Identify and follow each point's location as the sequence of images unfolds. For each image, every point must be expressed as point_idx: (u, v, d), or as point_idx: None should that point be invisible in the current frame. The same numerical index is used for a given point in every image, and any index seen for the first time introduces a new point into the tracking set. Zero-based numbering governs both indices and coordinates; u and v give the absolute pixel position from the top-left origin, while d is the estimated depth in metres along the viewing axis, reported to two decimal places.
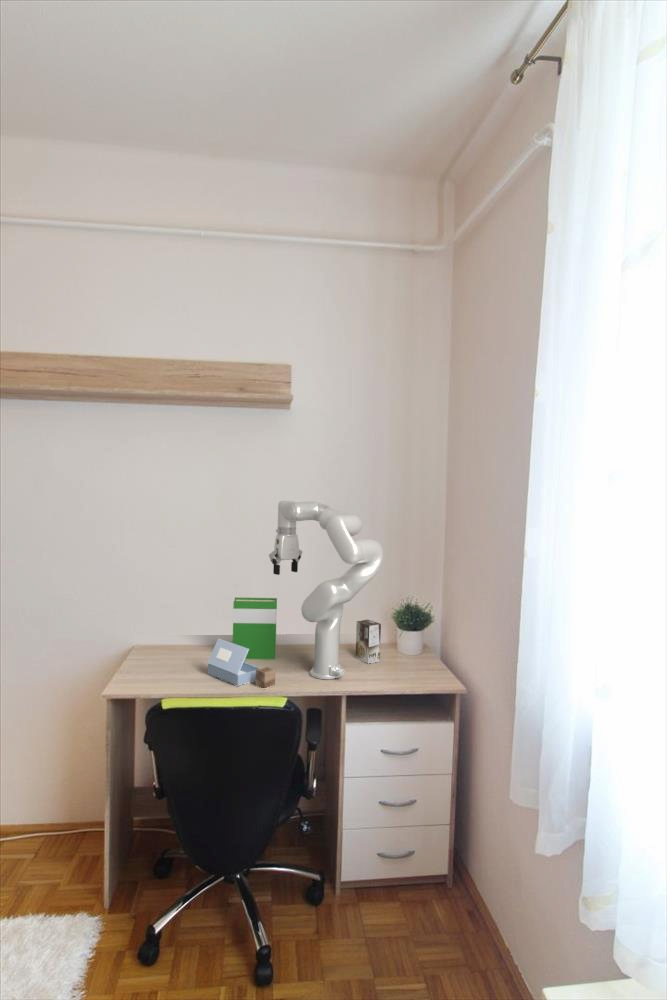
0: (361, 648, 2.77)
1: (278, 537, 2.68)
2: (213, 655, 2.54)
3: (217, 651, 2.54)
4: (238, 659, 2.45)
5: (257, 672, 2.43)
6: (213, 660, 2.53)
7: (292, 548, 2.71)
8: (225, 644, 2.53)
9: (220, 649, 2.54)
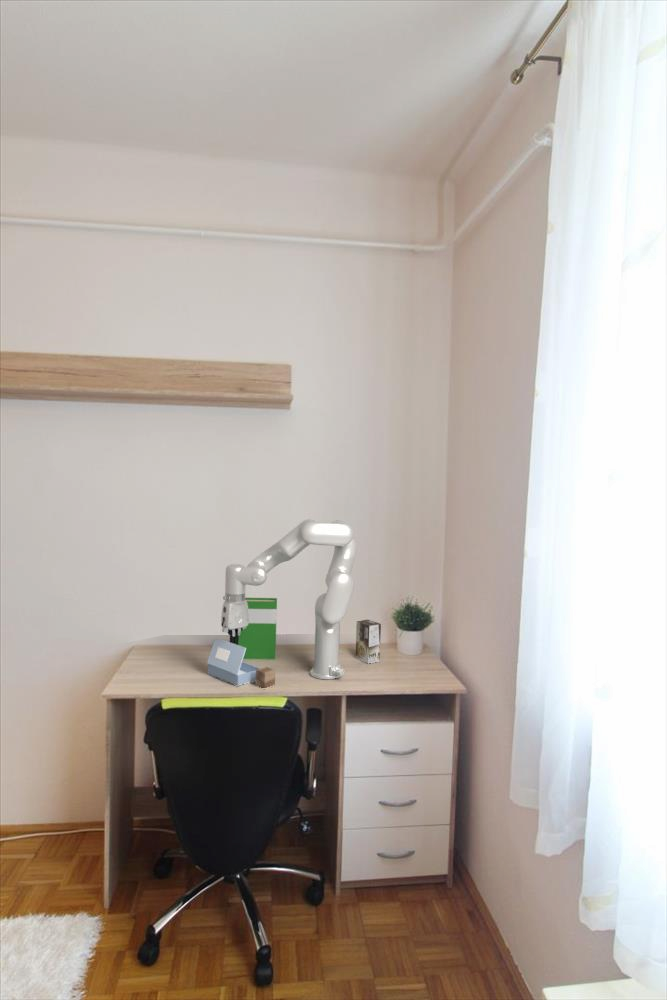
0: (361, 648, 2.77)
1: (225, 605, 2.47)
2: (212, 655, 2.54)
3: (216, 650, 2.54)
4: (237, 658, 2.45)
5: (257, 672, 2.43)
6: (212, 660, 2.53)
7: (241, 616, 2.50)
8: (223, 643, 2.52)
9: (218, 648, 2.53)
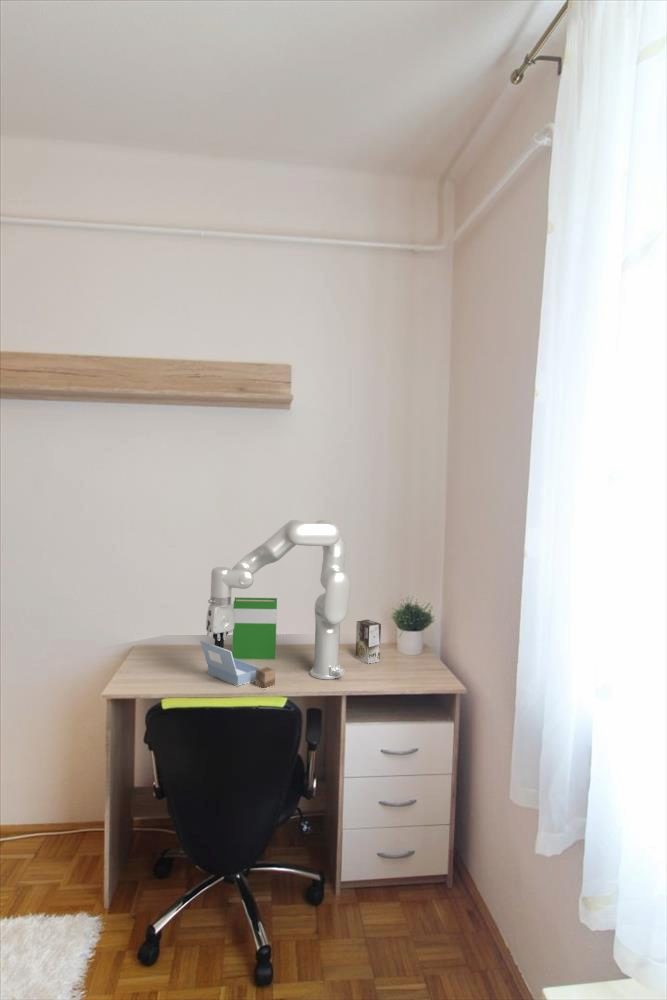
0: (361, 648, 2.77)
1: (210, 608, 2.43)
2: (207, 657, 2.52)
3: (207, 653, 2.51)
4: (229, 661, 2.42)
5: (257, 672, 2.43)
6: (210, 661, 2.52)
7: (226, 620, 2.45)
8: (209, 647, 2.48)
9: (208, 651, 2.50)
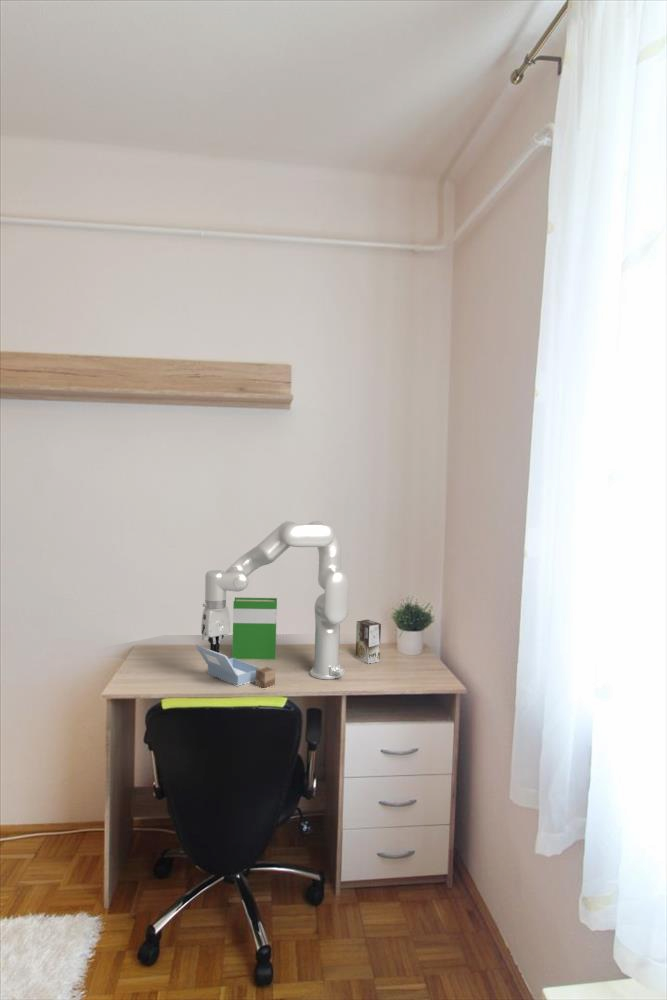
0: (361, 648, 2.77)
1: (205, 612, 2.41)
2: (205, 659, 2.52)
3: (205, 655, 2.50)
4: (226, 664, 2.41)
5: (257, 672, 2.43)
6: (209, 662, 2.52)
7: (221, 623, 2.43)
8: (205, 651, 2.47)
9: (205, 654, 2.49)
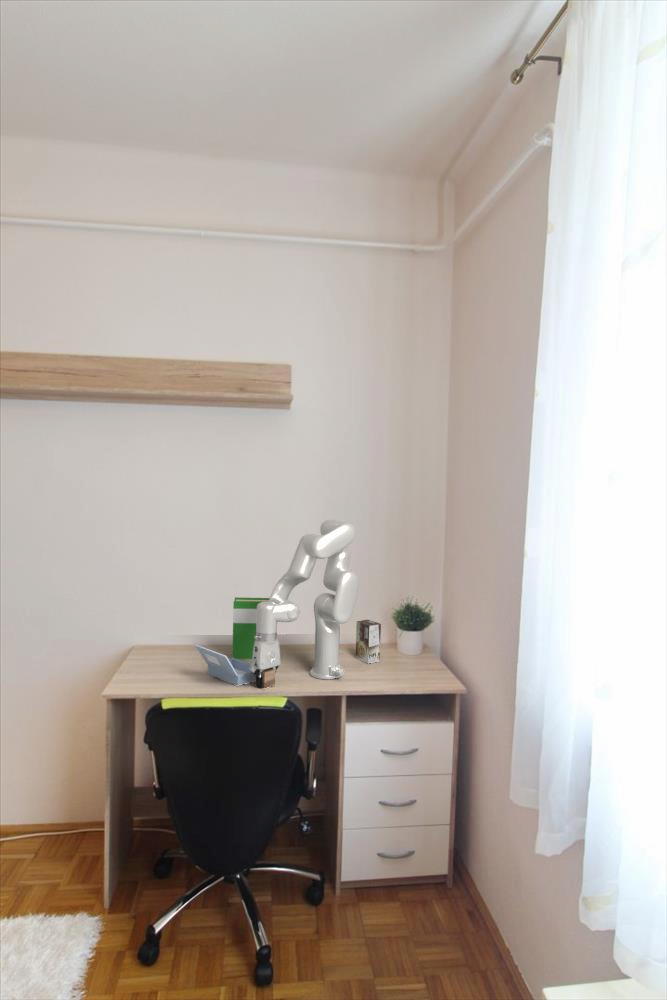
0: (361, 648, 2.77)
1: (257, 644, 2.40)
2: (205, 659, 2.52)
3: (205, 655, 2.50)
4: (226, 664, 2.41)
5: None
6: (209, 662, 2.52)
7: (272, 655, 2.42)
8: (205, 651, 2.47)
9: (205, 654, 2.49)
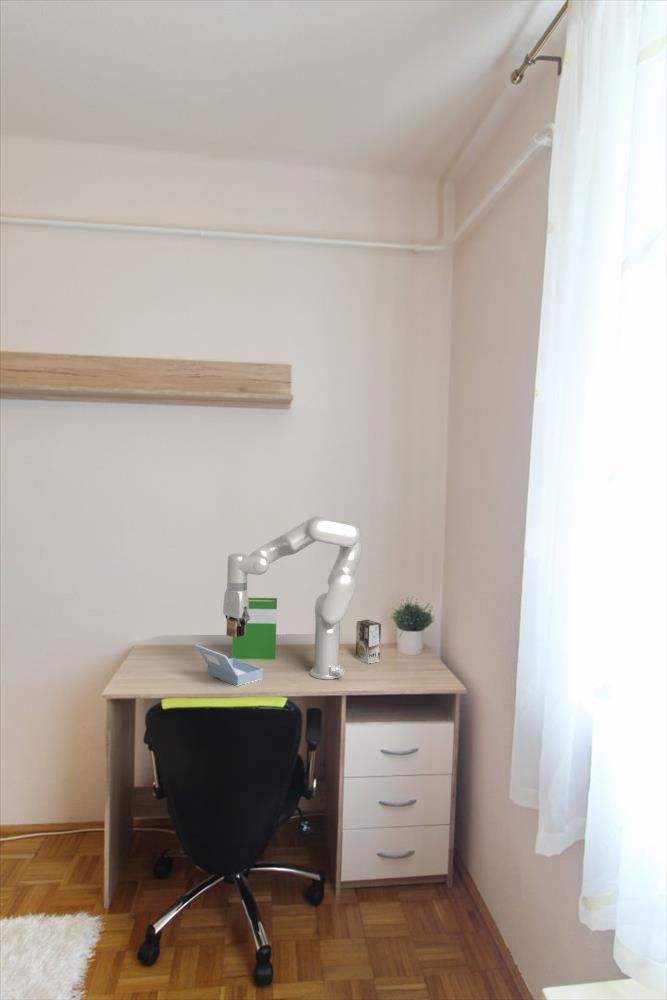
0: (361, 648, 2.77)
1: None
2: (205, 659, 2.52)
3: (205, 655, 2.50)
4: (226, 664, 2.41)
5: None
6: (209, 662, 2.52)
7: (232, 605, 2.49)
8: (205, 651, 2.47)
9: (205, 654, 2.49)
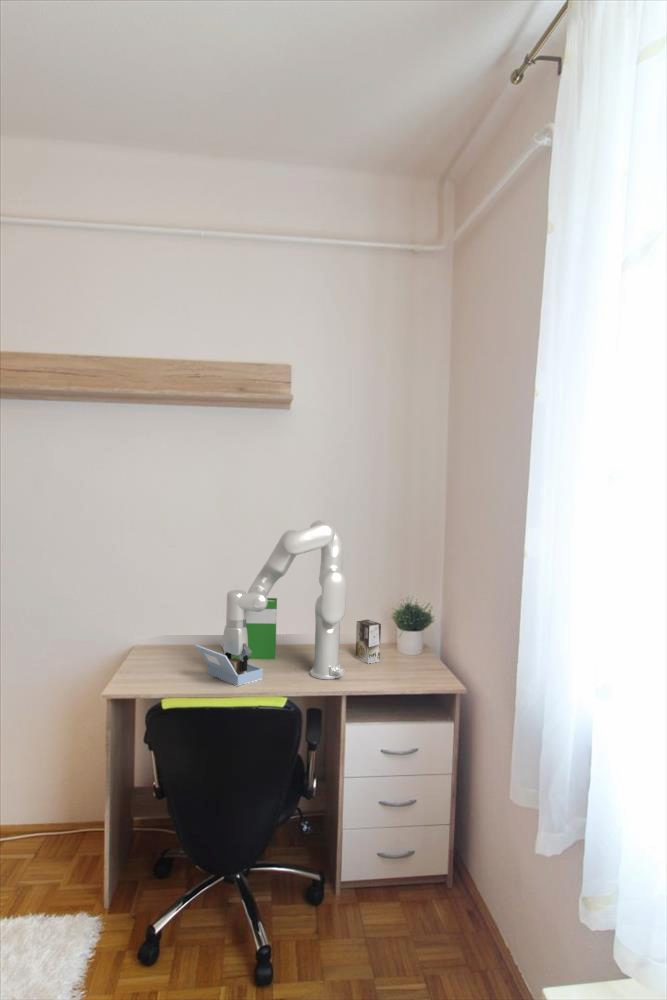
0: (361, 648, 2.77)
1: None
2: (205, 659, 2.52)
3: (205, 655, 2.50)
4: (226, 664, 2.41)
5: None
6: (209, 662, 2.52)
7: (231, 642, 2.50)
8: (205, 651, 2.47)
9: (205, 654, 2.49)
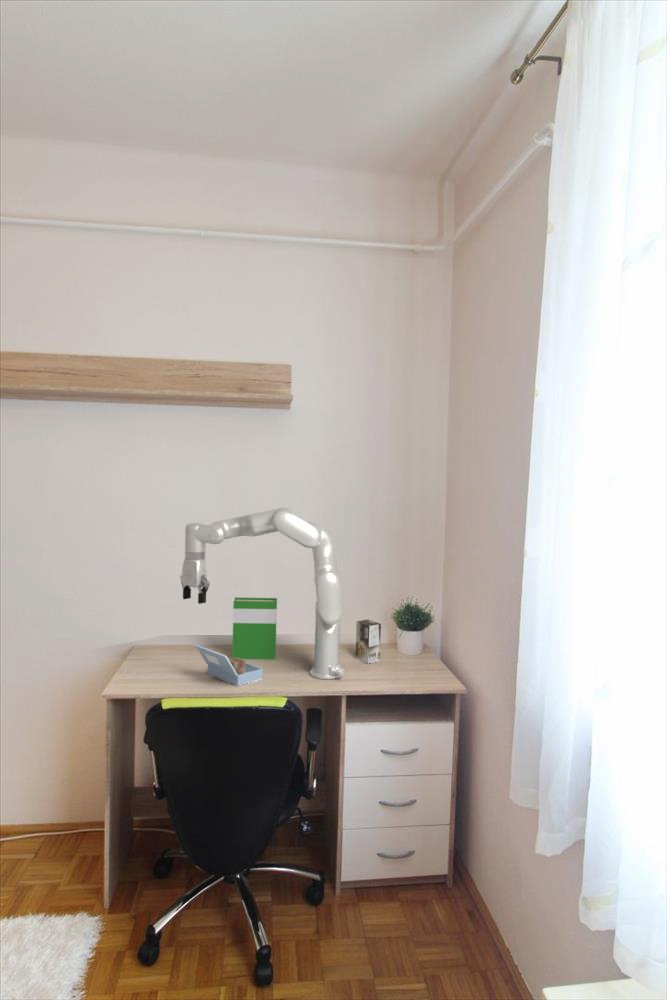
0: (361, 648, 2.77)
1: None
2: (205, 659, 2.52)
3: (205, 655, 2.50)
4: (226, 664, 2.41)
5: None
6: (209, 662, 2.52)
7: (189, 574, 2.50)
8: (205, 651, 2.47)
9: (205, 654, 2.49)
